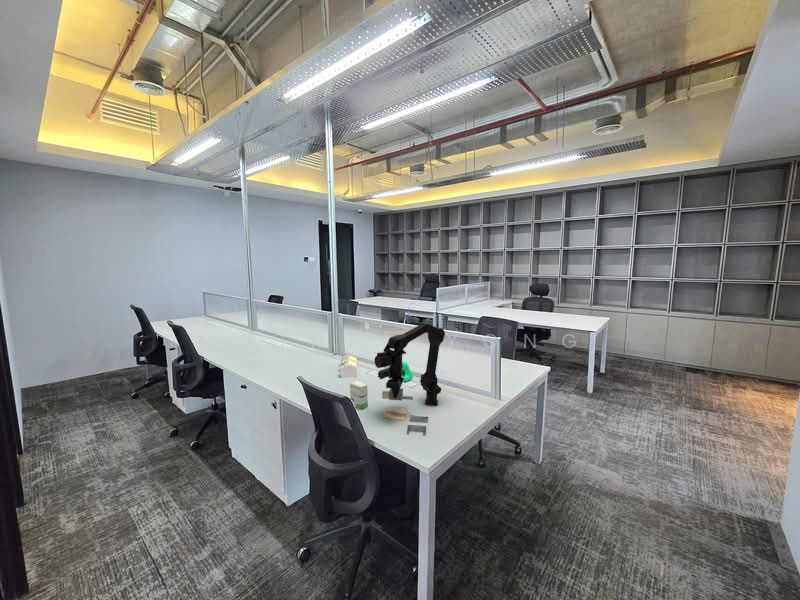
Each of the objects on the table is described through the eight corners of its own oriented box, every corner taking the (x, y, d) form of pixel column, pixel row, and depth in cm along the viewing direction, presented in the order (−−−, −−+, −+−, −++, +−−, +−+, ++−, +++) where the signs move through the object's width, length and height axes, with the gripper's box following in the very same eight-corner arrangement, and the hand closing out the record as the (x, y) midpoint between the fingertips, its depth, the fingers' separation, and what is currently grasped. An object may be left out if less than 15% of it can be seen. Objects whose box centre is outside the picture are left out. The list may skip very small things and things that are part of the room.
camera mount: (390, 378, 204) (390, 362, 202) (397, 375, 210) (397, 360, 208) (405, 383, 196) (405, 366, 195) (412, 379, 203) (413, 363, 201)
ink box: (368, 407, 164) (368, 384, 162) (360, 410, 160) (360, 387, 159) (357, 401, 170) (357, 380, 168) (349, 404, 166) (349, 382, 165)
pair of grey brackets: (411, 416, 154) (411, 412, 153) (428, 418, 152) (428, 414, 152) (406, 433, 138) (406, 429, 138) (425, 435, 137) (425, 431, 137)
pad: (387, 409, 162) (387, 408, 162) (407, 410, 160) (407, 409, 160) (383, 418, 152) (383, 417, 152) (404, 420, 150) (404, 419, 150)
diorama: (341, 365, 229) (341, 347, 228) (356, 365, 230) (356, 347, 229) (339, 378, 204) (339, 358, 203) (356, 377, 206) (356, 357, 204)
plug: (383, 395, 158) (383, 387, 158) (413, 397, 156) (413, 389, 155) (381, 399, 154) (381, 391, 153) (412, 401, 152) (412, 393, 151)
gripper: (383, 357, 163) (383, 387, 165) (374, 369, 145) (375, 403, 147) (405, 358, 162) (405, 388, 164) (399, 370, 143) (399, 404, 145)
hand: (396, 395), depth 155 cm, fingers closed on plug, 4 cm apart
